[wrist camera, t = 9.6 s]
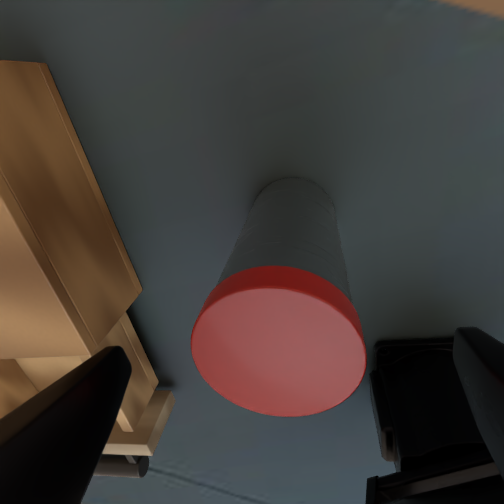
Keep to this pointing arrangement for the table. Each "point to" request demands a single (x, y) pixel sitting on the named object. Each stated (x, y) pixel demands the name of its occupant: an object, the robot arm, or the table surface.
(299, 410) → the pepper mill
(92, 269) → the cabinet
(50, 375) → the drawer
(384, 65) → the table surface
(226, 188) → the table surface
